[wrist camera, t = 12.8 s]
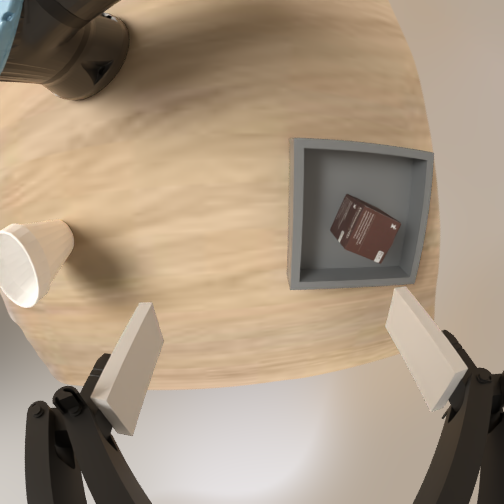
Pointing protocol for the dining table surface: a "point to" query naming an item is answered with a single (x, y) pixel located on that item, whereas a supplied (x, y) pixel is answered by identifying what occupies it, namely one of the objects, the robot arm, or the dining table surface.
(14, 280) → the cup
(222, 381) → the dining table surface
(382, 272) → the bin
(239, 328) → the dining table surface
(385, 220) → the box
